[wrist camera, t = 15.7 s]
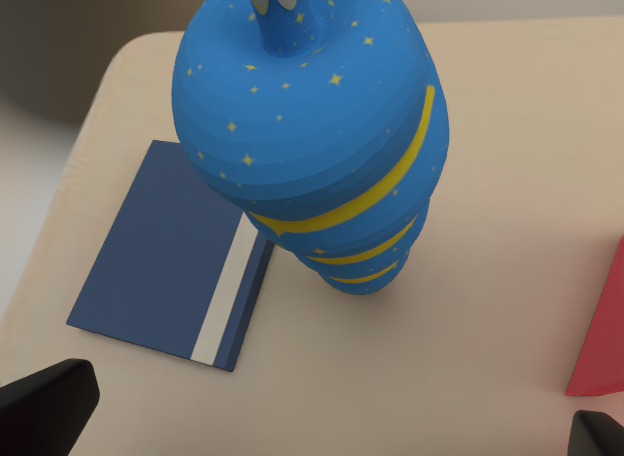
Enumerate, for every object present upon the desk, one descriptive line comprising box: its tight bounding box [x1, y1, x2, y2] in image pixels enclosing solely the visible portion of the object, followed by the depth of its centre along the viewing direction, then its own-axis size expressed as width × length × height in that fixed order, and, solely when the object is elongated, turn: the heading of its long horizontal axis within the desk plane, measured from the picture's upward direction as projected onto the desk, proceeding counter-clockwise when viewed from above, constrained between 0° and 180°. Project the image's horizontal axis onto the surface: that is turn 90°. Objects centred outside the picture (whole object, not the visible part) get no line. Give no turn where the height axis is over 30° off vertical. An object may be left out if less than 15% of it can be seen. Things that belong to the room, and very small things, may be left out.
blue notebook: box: [66, 140, 274, 372], centre depth 21 cm, size 10×8×1 cm
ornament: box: [172, 0, 449, 295], centre depth 12 cm, size 5×5×15 cm
